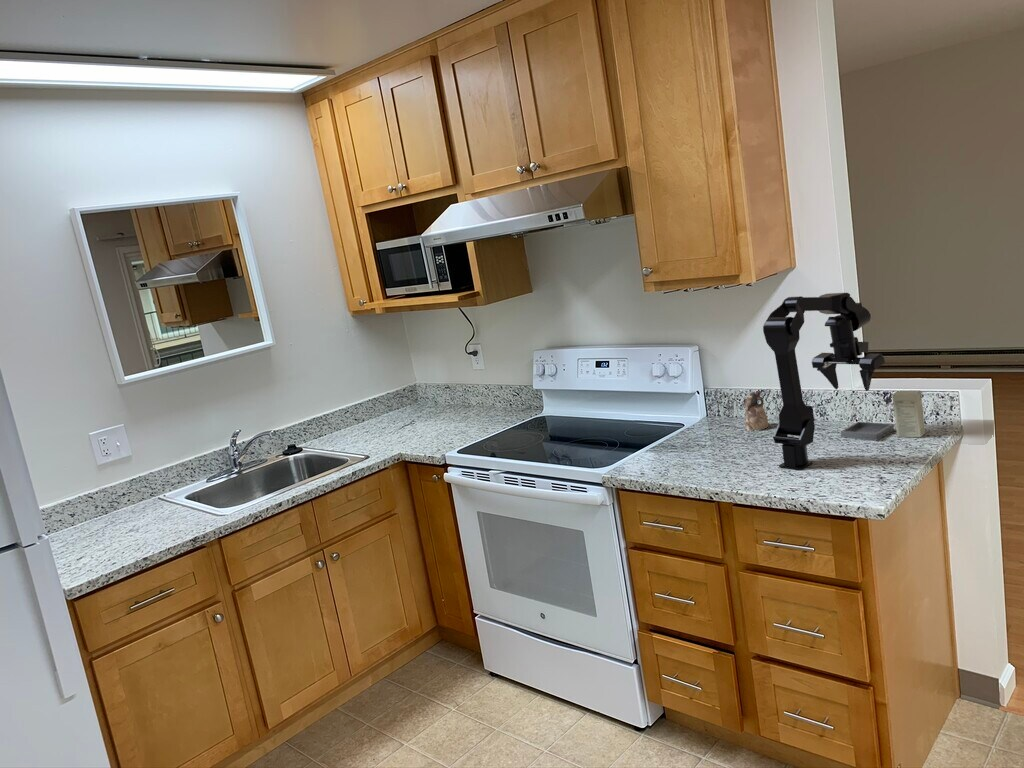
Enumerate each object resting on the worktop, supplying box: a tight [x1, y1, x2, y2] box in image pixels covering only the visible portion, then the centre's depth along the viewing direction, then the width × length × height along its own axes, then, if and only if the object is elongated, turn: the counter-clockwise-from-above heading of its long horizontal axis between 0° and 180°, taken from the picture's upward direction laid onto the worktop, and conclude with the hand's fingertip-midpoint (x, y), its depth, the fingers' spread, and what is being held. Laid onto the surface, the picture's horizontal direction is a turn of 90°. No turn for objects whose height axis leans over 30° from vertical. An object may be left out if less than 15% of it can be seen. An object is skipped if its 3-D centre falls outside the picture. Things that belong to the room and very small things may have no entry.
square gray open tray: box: [840, 421, 895, 441], centre depth 217 cm, size 10×10×2 cm
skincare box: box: [891, 390, 926, 438], centre depth 209 cm, size 6×4×12 cm
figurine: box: [743, 390, 769, 432], centre depth 241 cm, size 7×7×12 cm
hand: (851, 389), depth 215 cm, fingers open, 9 cm apart
